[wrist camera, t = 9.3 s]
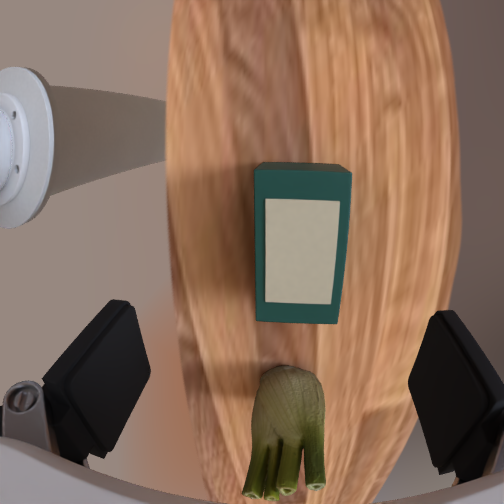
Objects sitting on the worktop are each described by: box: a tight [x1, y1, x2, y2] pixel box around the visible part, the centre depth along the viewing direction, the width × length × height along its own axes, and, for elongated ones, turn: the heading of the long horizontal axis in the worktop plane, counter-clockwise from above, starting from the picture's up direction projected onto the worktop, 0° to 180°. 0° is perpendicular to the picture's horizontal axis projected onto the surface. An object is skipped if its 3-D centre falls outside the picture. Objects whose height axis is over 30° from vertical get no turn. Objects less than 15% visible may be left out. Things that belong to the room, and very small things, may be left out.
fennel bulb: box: [242, 365, 326, 501], centre depth 20 cm, size 6×5×12 cm
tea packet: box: [254, 162, 352, 324], centre depth 18 cm, size 9×5×5 cm, turn 1°
